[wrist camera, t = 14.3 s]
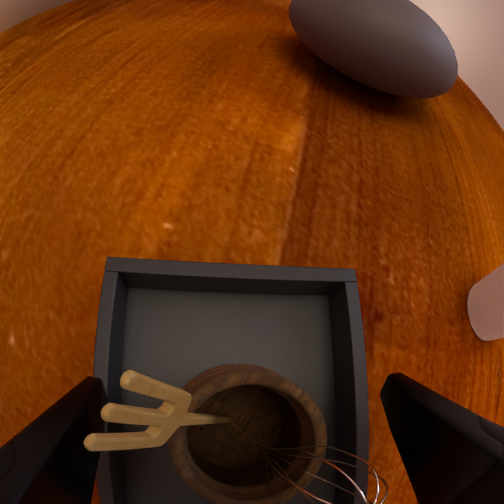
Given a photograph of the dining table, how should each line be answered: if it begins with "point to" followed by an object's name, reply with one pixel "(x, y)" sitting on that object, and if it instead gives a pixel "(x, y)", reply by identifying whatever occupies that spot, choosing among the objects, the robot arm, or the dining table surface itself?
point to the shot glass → (488, 306)
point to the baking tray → (231, 358)
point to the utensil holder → (230, 433)
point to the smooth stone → (378, 44)
